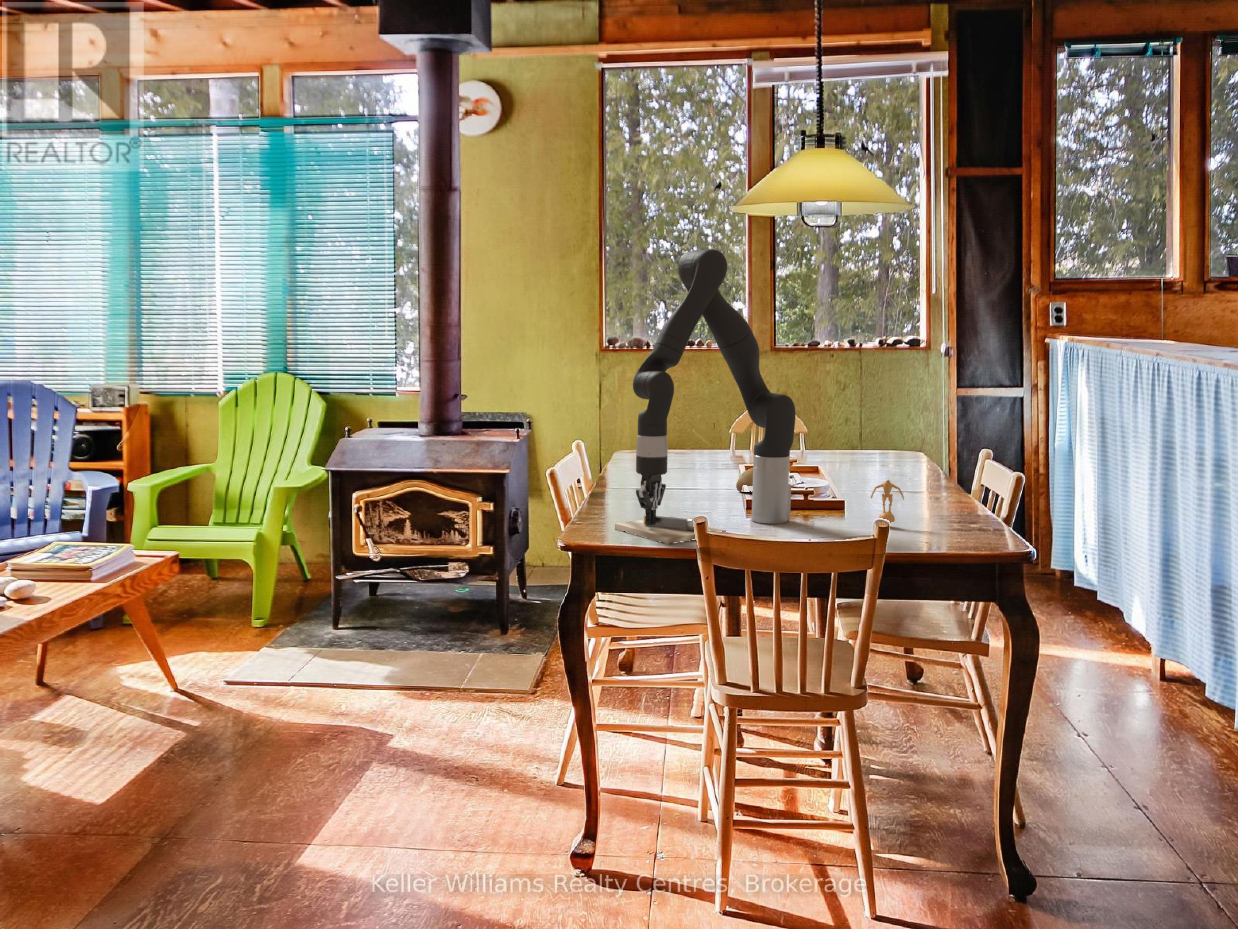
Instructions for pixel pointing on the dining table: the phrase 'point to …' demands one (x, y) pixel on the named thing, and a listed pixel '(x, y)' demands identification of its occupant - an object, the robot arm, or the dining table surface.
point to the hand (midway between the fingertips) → (650, 524)
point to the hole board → (659, 531)
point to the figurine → (887, 489)
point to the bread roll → (745, 479)
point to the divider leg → (673, 522)
